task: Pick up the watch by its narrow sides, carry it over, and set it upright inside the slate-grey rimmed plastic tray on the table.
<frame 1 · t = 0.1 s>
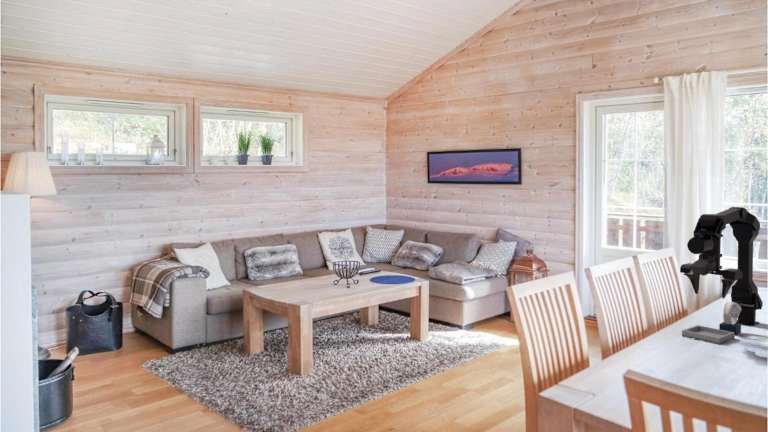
hand: (709, 295, 207), 15 cm above the table, fingers open, 9 cm apart
watch: (729, 333, 213), on the table
tray: (707, 337, 208), on the table
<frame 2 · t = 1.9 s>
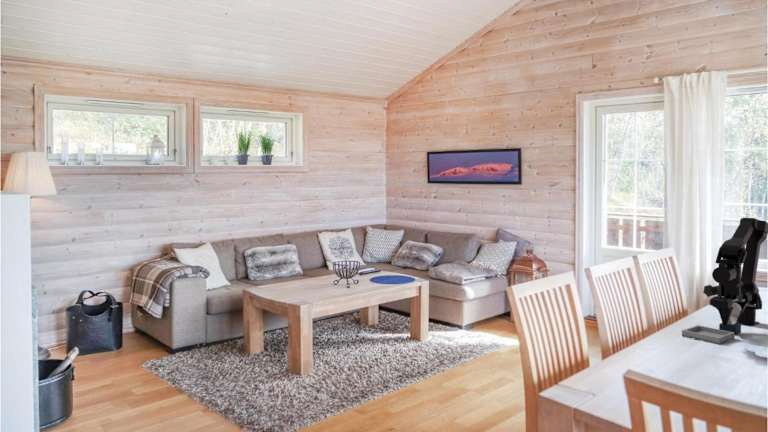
hand: (730, 322, 213), 4 cm above the table, fingers closed on watch, 8 cm apart
watch: (729, 333, 213), on the table, touching gripper
when the fingers open (5 cm above the table, at t = 6.6 s): watch stays where it is, resting on tray.
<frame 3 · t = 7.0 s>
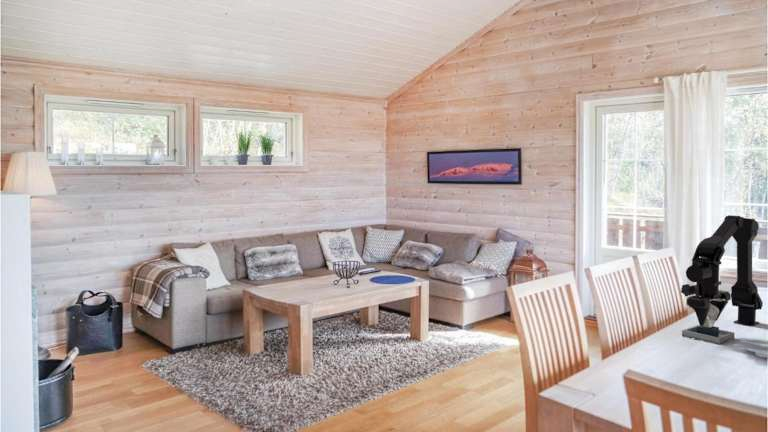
hand: (708, 322, 208), 5 cm above the table, fingers open, 9 cm apart
watch: (707, 336, 208), resting on tray
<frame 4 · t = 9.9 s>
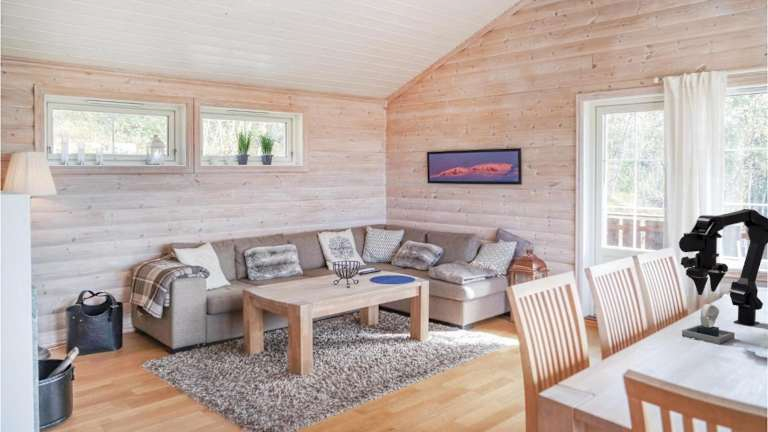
hand: (706, 293, 218), 13 cm above the table, fingers open, 9 cm apart
nothing on the table moved.
at the end: watch 0.2 cm off-centre on the tray, point 0.4 cm above the tray's base; watch tilted 0°; the gripper is holding nothing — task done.
